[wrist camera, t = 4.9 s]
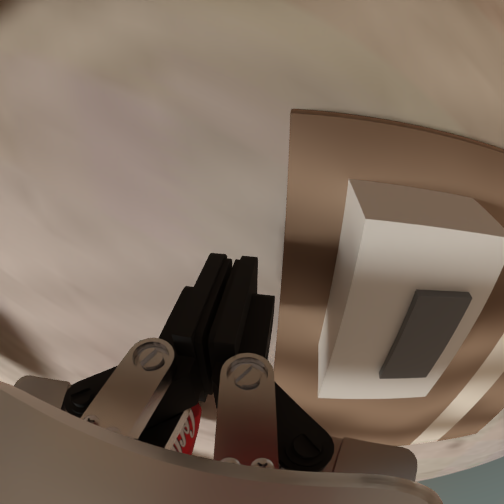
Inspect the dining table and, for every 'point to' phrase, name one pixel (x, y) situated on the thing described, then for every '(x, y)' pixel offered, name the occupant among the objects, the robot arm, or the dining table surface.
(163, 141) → the dining table surface
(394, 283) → the block
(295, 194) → the board
